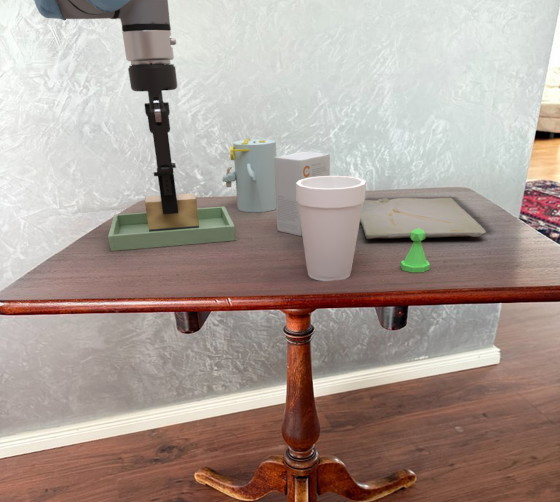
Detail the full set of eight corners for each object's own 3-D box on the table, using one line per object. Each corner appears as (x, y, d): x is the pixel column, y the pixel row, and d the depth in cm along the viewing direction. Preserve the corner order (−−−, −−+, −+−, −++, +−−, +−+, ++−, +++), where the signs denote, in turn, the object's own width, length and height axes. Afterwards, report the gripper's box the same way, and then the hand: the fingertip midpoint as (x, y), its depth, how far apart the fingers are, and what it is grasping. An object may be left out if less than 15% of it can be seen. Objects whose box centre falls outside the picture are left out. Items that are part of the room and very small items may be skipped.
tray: (110, 251, 93) (107, 236, 92) (116, 228, 106) (113, 214, 105) (235, 240, 96) (234, 226, 95) (225, 219, 110) (224, 206, 108)
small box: (304, 221, 106) (304, 150, 99) (329, 227, 102) (331, 153, 96) (275, 230, 101) (273, 156, 94) (301, 236, 97) (300, 159, 91)
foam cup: (297, 285, 76) (296, 190, 70) (296, 264, 84) (295, 176, 78) (365, 284, 76) (370, 188, 69) (357, 262, 84) (361, 174, 77)
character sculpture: (229, 198, 126) (224, 135, 120) (278, 196, 126) (276, 134, 119) (220, 220, 109) (214, 148, 102) (277, 218, 109) (274, 146, 102)
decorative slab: (349, 207, 115) (349, 197, 114) (449, 204, 115) (450, 195, 114) (366, 245, 92) (366, 233, 91) (492, 242, 91) (494, 230, 90)
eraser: (149, 236, 98) (144, 202, 95) (150, 229, 102) (145, 196, 99) (199, 232, 100) (196, 198, 97) (198, 225, 104) (194, 193, 101)
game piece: (410, 274, 79) (414, 233, 76) (394, 265, 82) (397, 226, 79) (435, 269, 80) (440, 229, 77) (418, 261, 84) (422, 222, 81)
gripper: (176, 61, 80) (193, 219, 92) (173, 62, 96) (188, 197, 107) (124, 63, 79) (149, 223, 91) (129, 63, 94) (149, 200, 106)
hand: (170, 209), depth 99 cm, fingers closed on eraser, 5 cm apart
